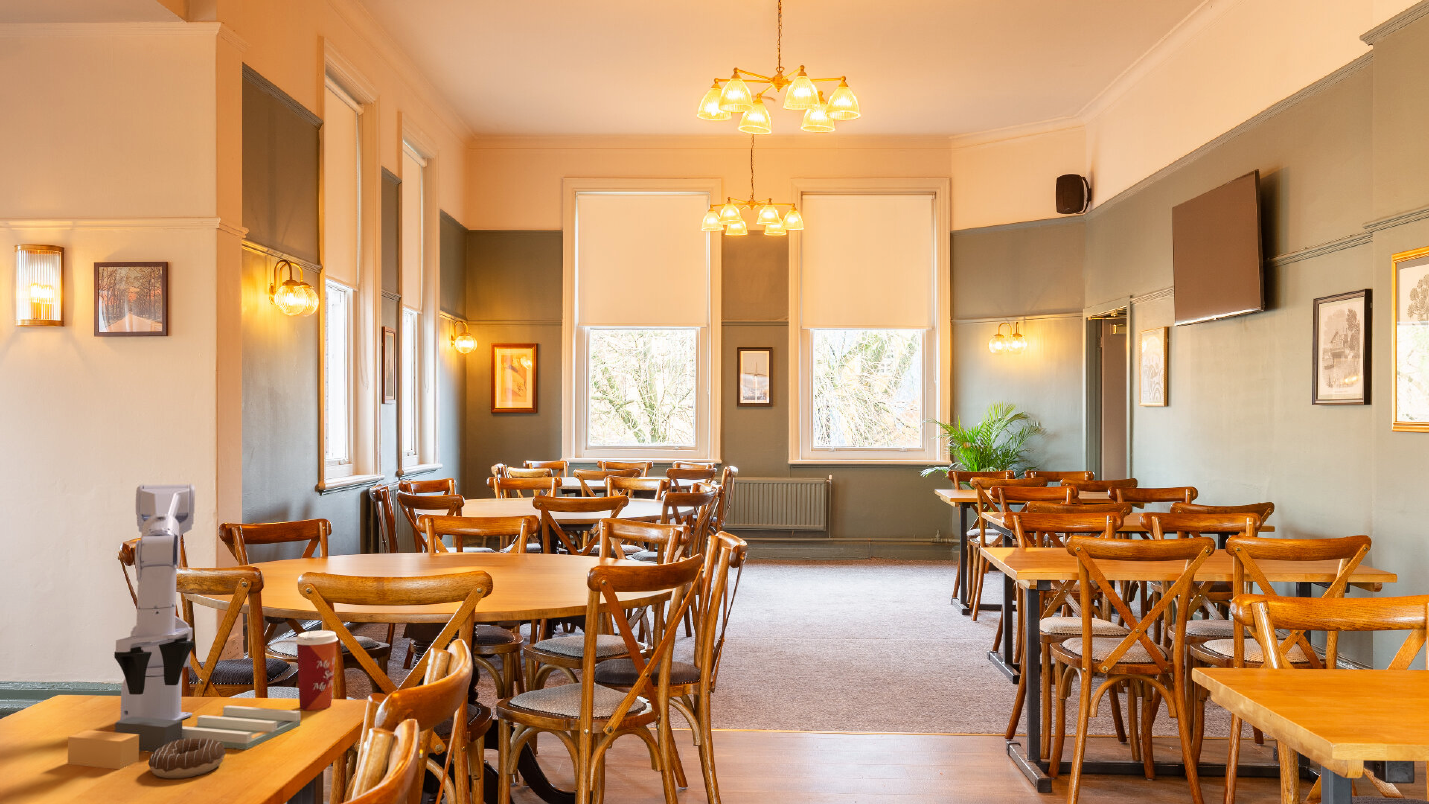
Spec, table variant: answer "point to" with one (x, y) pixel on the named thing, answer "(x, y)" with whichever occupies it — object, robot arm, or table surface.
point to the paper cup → (316, 669)
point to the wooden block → (103, 749)
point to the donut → (187, 758)
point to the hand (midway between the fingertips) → (154, 689)
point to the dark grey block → (151, 731)
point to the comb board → (243, 726)
